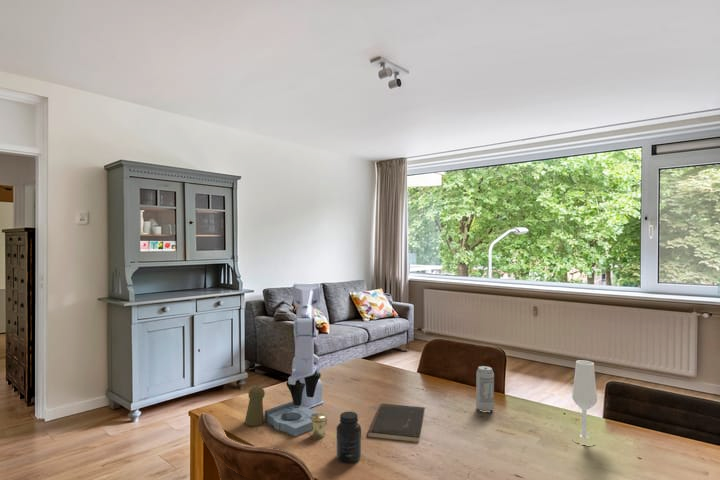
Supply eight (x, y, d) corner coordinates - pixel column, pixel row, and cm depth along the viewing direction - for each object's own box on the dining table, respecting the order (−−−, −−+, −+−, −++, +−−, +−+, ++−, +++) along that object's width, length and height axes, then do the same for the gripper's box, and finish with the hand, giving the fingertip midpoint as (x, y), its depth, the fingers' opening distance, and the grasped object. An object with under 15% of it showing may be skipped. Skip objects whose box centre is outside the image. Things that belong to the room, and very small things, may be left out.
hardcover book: (424, 413, 152) (424, 407, 152) (419, 444, 129) (419, 436, 129) (379, 409, 155) (379, 403, 155) (367, 438, 133) (367, 431, 133)
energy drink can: (491, 407, 157) (492, 365, 157) (495, 413, 151) (495, 370, 151) (474, 406, 158) (475, 365, 158) (477, 412, 152) (478, 370, 152)
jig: (296, 410, 152) (296, 400, 152) (326, 423, 141) (326, 413, 141) (262, 422, 142) (262, 411, 142) (292, 437, 131) (292, 426, 131)
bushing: (319, 430, 136) (319, 411, 136) (330, 435, 133) (330, 416, 133) (307, 435, 133) (307, 416, 133) (317, 441, 129) (317, 421, 129)
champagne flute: (587, 448, 127) (588, 366, 126) (566, 438, 133) (567, 360, 132) (601, 443, 130) (602, 363, 130) (580, 434, 136) (582, 358, 136)
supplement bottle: (335, 452, 123) (336, 409, 123) (359, 451, 123) (360, 409, 123) (336, 464, 116) (337, 420, 116) (362, 463, 117) (362, 419, 117)
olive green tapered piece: (258, 427, 138) (261, 392, 138) (241, 424, 139) (244, 390, 139) (266, 419, 144) (269, 386, 144) (249, 417, 145) (252, 384, 145)
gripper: (305, 350, 142) (305, 391, 142) (279, 361, 128) (279, 406, 129) (324, 352, 139) (324, 394, 139) (300, 364, 126) (299, 410, 126)
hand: (303, 400), depth 133 cm, fingers open, 7 cm apart
